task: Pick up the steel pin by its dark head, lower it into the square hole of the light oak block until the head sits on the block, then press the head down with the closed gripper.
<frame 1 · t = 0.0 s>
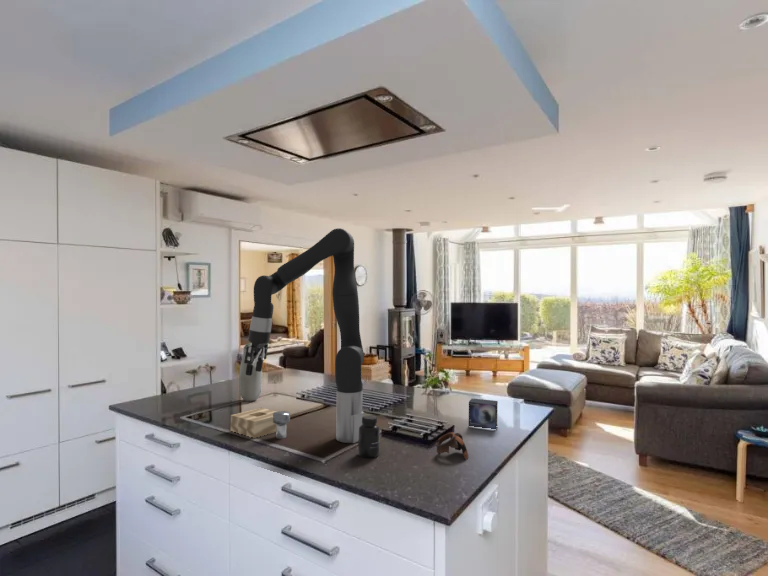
hand: (253, 373, 159), 22 cm above the counter, tool pointing down, fingers open, 8 cm apart
brown curved band: (453, 456, 139), on the counter
small box: (482, 428, 169), on the counter
supplement bottle: (368, 455, 139), on the counter
steel pin: (281, 436, 155), on the counter
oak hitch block: (257, 430, 163), on the counter
grey bottle: (250, 401, 210), on the counter
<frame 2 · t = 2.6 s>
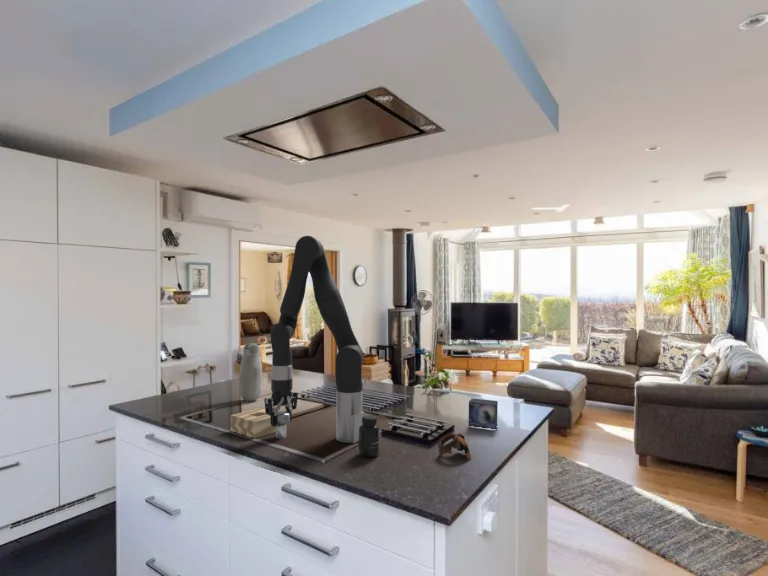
hand: (281, 423, 156), 5 cm above the counter, tool pointing down, fingers closed on steel pin, 6 cm apart
steel pin: (281, 436, 156), on the counter, touching gripper
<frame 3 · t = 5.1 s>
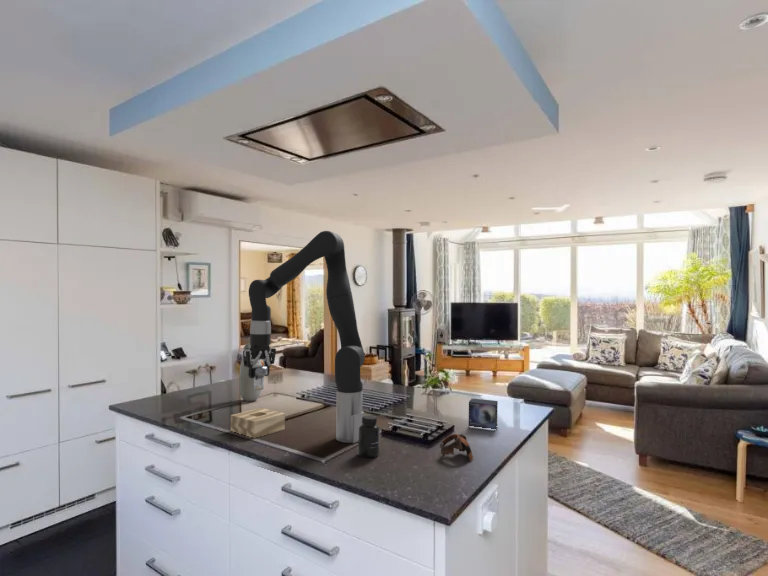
hand: (259, 376, 163), 20 cm above the counter, tool pointing down, fingers closed on steel pin, 6 cm apart
steel pin: (258, 389, 163), point 16 cm above the counter, touching gripper
when the fingers open (8 cm above the counter, at t = 7.8 s): steel pin drops 2 cm, resting on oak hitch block.
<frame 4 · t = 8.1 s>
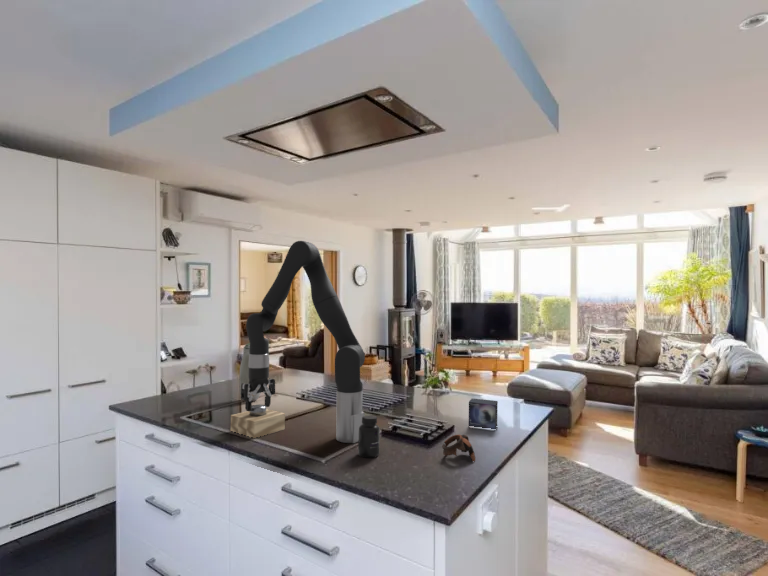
hand: (258, 408, 163), 8 cm above the counter, tool pointing down, fingers open, 8 cm apart
steel pin: (257, 429, 163), resting on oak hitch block
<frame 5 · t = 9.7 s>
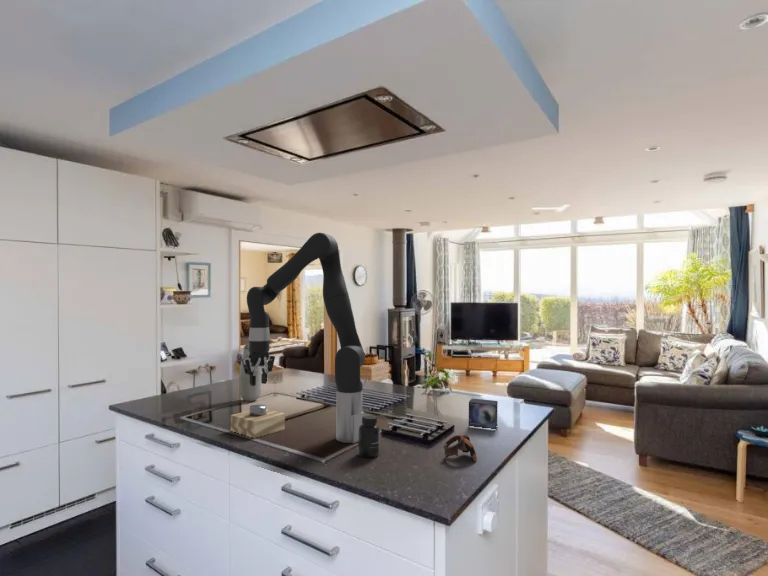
hand: (258, 384, 163), 17 cm above the counter, tool pointing down, fingers open, 4 cm apart
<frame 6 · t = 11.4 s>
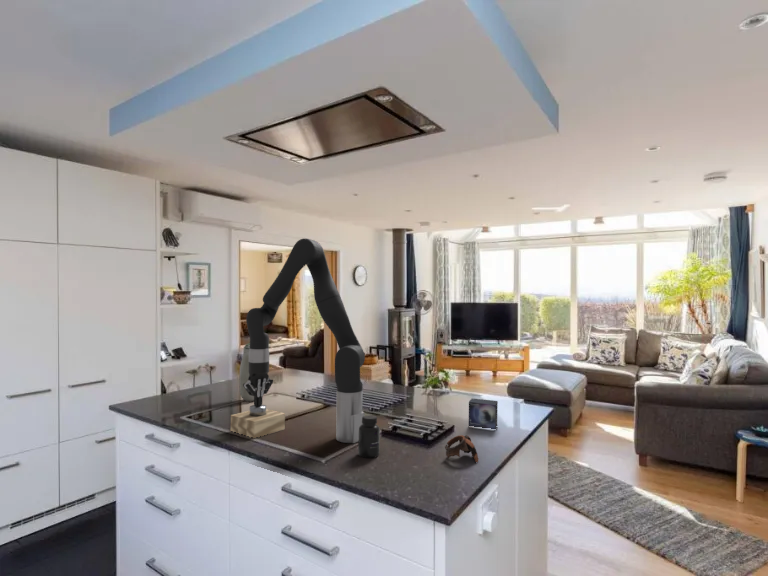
hand: (258, 406, 163), 9 cm above the counter, tool pointing down, fingers closed
steel pin: (257, 429, 163), resting on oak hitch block, touching gripper
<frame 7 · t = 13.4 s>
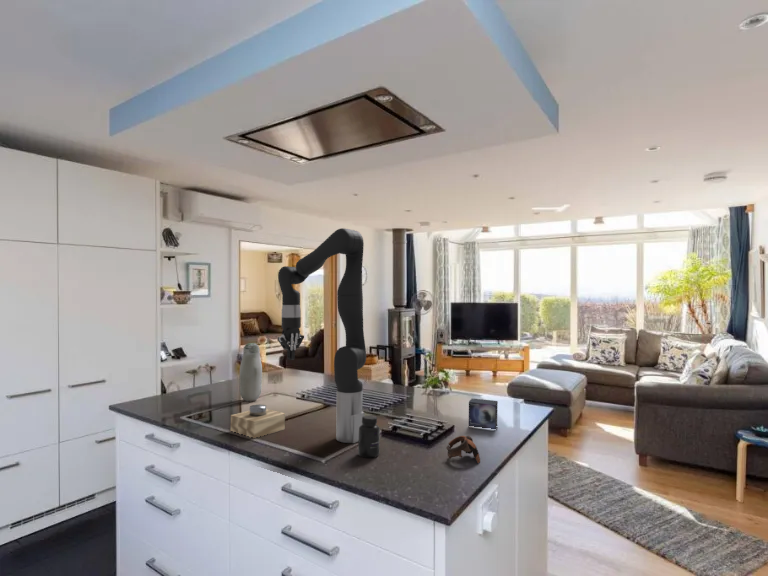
hand: (291, 359, 173), 25 cm above the counter, tool pointing down, fingers closed
steel pin: (257, 429, 163), resting on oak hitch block
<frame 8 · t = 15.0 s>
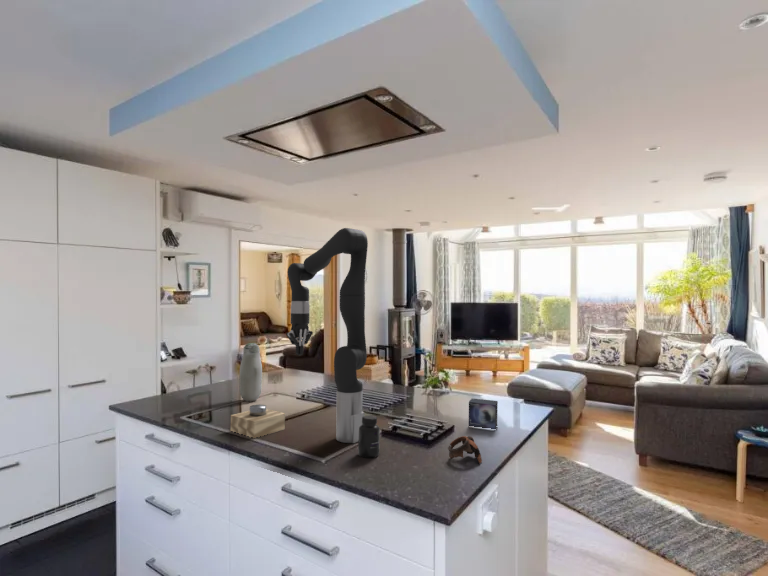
hand: (299, 354, 175), 27 cm above the counter, tool pointing down, fingers closed
at the end: steel pin 0.1 cm off-centre on the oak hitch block, point 0.5 cm above the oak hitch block's base; steel pin tilted 0°; the gripper is holding nothing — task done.
